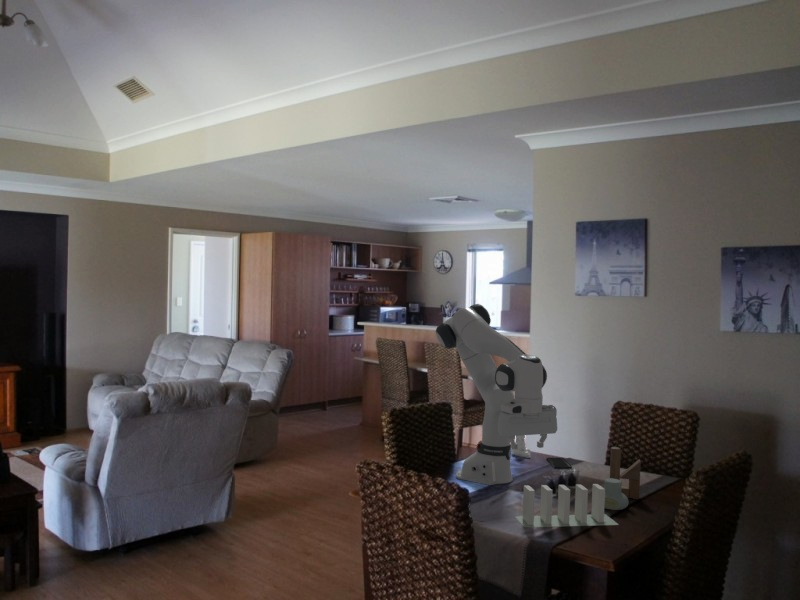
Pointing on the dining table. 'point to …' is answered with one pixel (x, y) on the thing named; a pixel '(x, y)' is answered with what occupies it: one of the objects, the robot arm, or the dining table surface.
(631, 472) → the wooden block
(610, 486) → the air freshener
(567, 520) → the domino
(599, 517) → the domino
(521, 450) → the sitting furry creature
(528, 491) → the domino
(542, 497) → the domino
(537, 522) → the domino board
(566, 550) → the dining table surface
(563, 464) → the phone
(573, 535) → the dining table surface
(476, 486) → the dining table surface
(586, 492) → the domino
